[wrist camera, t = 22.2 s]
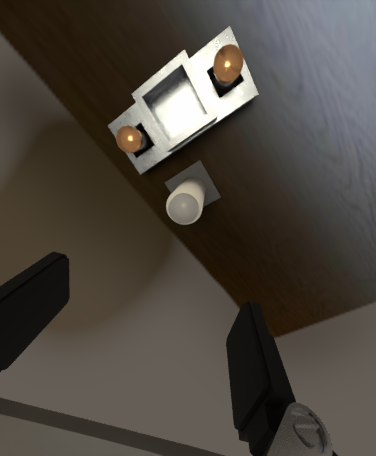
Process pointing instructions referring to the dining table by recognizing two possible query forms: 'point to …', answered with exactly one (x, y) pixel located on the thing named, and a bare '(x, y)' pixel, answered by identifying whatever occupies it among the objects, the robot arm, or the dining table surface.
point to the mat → (200, 173)
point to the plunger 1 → (132, 139)
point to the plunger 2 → (227, 67)
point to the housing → (183, 103)
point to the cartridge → (186, 201)
